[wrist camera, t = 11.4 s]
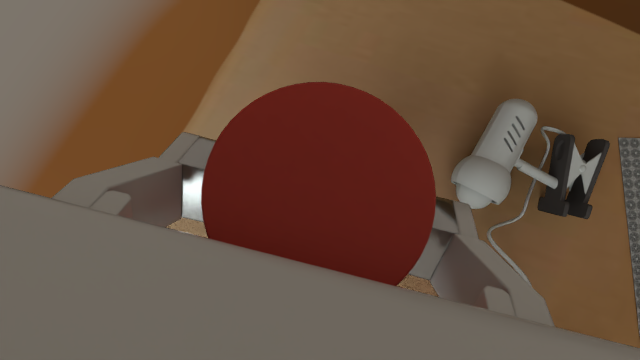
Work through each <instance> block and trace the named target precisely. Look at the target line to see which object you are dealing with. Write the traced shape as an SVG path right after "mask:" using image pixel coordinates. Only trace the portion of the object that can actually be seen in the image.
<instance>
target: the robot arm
mask: <svg viewBox="0 0 640 360" xmlns="http://www.w3.org/2000/svg"><path fill="white" fill-rule="evenodd" d="M215 142H216V140H213V139H209V138H205V137H202V136H201V137H200V136H199V135H194V134H190V133H186V132H183V133H181V134H180V135H179V136H178V137H177V138H176V139H175V140H174V142H173V143H172V144H171V145H170V146H169V147H168V148H167V149H166V150H165V151H164V152H163V153H162V155H161V156H160V157H159V158H156V157H151V158H148V159H144V160H140V161H137V162H133V163H129V164H126V165H122V166H118V167H115V168H111V169H108V170H104V171H101V172H97V173H93V174H90V175H86V176H83V177H79V178H76V179H73V180H72V181H71V182H70V183H68V184H67V186H65V187H64V188H63V189H61V190H60V191H59V192H58V193H57V194H56V195H55V196H53V197H52V198H48V197H44V196H41V195H36V194H32V193H29V192H25V191H21V190H17V189H13V188H9V187H5V186H1V185H0V360H640V348H636V347H632V346H628V345H624V344H620V343H616V342H612V341H609V340H605V339H601V338H597V337H593V336H589V335H585V334H581V333H577V332H573V331H570V330H566V329H562V328H558V327H555V326H554V323H553V321H552V318H551V315H550V313H549V310H548V307H547V305H546V302H545V299H544V298H543V297H542V296H541V295H540V294H539V293H538V292H536V291H535V290H534V289H533V288H532V287H531V286H530V285H529V284H528V283H527V282H526V281H525V280H524V279H523V278H522V277H521V276H520V275H519V274H518V273H517V272H516V271H515V270H514V269H513V268H512V267H511V266H510V265H509V264H507V263H506V262H505V261H504V260H503V259H502V258H501V257H500V256H499V255H498V254H497V253H496V252H495V251H494V250H493V249H492V248H491V247H490V246H489V245H488V244H487V243H486V242H485V241H483V240H479V238H478V234H477V230H476V226H475V222H474V219H473V215H472V211H471V207H470V205H469V204H468V203H463V202H458V201H454V200H449V199H444V198H440V197H436V206H435V216H434V221H433V227H432V230H431V233H430V236H429V239H428V242H427V244H426V246H425V248H424V251H423V253H422V255H421V256H420V258H419V259H418V261H417V263H416V264H415V266H414V267H413V269H412V270H411V271H410V272H409V273H408V274H409V275H412V276H416V277H420V278H423V279H427V280H430V283H431V284H432V286H433V288H434V289H435V291H436V292H437V294H438V295H439V297H436V296H433V295H429V294H425V293H421V292H417V291H413V290H409V289H405V288H401V287H397V286H393V285H389V284H385V283H382V282H378V281H374V280H370V279H366V278H362V277H358V276H354V275H350V274H346V273H342V272H338V271H334V270H331V269H327V268H323V267H319V266H315V265H311V264H307V263H303V262H299V261H295V260H291V259H287V258H284V257H280V256H276V255H272V254H268V253H264V252H260V251H256V250H252V249H248V248H244V247H240V246H237V245H233V244H229V243H225V242H221V241H217V240H213V239H209V238H205V237H201V236H197V235H193V234H189V233H186V232H182V231H178V230H174V229H170V228H166V227H167V226H168V225H170V224H172V223H174V222H176V221H177V220H179V219H181V217H183V218H188V219H192V220H196V221H201V222H204V221H203V214H202V206H201V188H202V181H203V175H204V170H205V167H206V164H207V160H208V157H209V155H210V153H211V150H212V148H213V146H214V144H215Z"/></svg>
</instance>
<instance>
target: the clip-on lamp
mask: <svg viewBox="0 0 640 360" xmlns="http://www.w3.org/2000/svg"><path fill="white" fill-rule="evenodd" d="M536 123H537V112H536V110H535V108H534V107H533V106H532V105H531V104H530V103H529V102H527V101H525V100H522V99H510V100H507V101H505V102H503V103H501V104H500V105H499V106H498V107H497V109H496V111H495V113H494V115H493V116H492V118H491V120H490V122H489V123H488V125H487V127H486V129H485V131H484V132H483V134H482V136H481V138H480V139H479V141H478V143H477V145H476V147H475V148H474V150H473V152H472V154H471V155H470V156H468V157H466V158H464V159H462V160H461V161H460V162H459V163H458V164H457V165H456V167H455V168H454V170H453V173H452V176H451V182H452V183H453V184H455V185H457V186H456V194H457V197H458V199H459V201H460V202H463V203H468V204H469V205H470V207H471V208H472V209H480V208H483V207H486V206H487V205H489V204H490V203H494V204H497V205H499V204H500V203H501V202H502V201H503V200H504V199H505V198H506V196H507V195H508V193H509V191H510V187H511V176H510V172H511V170H512V168H513V166H516V167H517V169H518V170H519V171H521V172H523V173H525V174H527V175H529V176H531V177H533V178H534V179H533V181H532V183H531V186H530V188H529V191H528V194H527V197H526V200H525V203H524V207H523V210H522V212H521V213H520V214H519V216H517V217H515V218H513V219H511V220H508V221H505V222H502V223H499V224H497V225H494V226H492V227H491V228H489V230H488V231H487V238H488V240H489V241H490V243H491V244H492V246H493V247H494V248H495V249H496V250H497V251H498V252H499V253H500V254H501V255H502V257H503V258H504V259H505V260H506V261H507V262H508V263H509V264H510V265H511V266H512V267H513V268H514V269H515V270H516V271H517V272H518V273H519V274H520V275H521V276H522V278H523V279H524V280H525V281H526V282H527V283H528V284H529V285H530V286H531V283H530V281H529V280H528V278H527V276H526V275H525V274H524V273H523V271H522V270H521V269H520V268H519V267H518V266H517V265H516V264H515V263H514V262H513V261H512V260H511V259H510V258H509V257H508V256H507V255H506V254H505V253H504V252H503V251H502V250H501V249H500V248H499V247H498V245H497V244H496V243H495V242H494V240H493V239H492V237H491V232H492V230H493V229H495V228H497V227H500V226H503V225H506V224H510V223H513V222H515V221H517V220H519V219H520V218H521V217H522V216H523V215H524V213H525V211H526V208H527V205H528V202H529V198H530V195H531V193H532V190H533V187H534V185H535V182H536V180H538V181H540V182H542V183H544V184H546V185H547V187H546V193H545V198H544V197H541V198H540V200H539V204H538V210H540V211H544V212H548V213H551V214H555V215H559V216H564V217H566V216H567V214H568V215H572V216H576V217H580V218H584V219H588V218H589V217H590V214H591V211H592V205H589V204H587V203H588V201H589V198H590V196H591V193H592V190H593V188H594V185H595V183H596V180H597V177H598V175H599V172H600V170H601V167H602V164H603V162H604V159H605V157H606V154H607V152H608V149H609V145H610V143H609V141H607V140H604V139H594V140H591V141H590V142H589V143H588V144H587V146H586V149H585V152H584V153H583V154H581V155H579V152H578V150H577V148H576V146H575V137H574V135H570V134H566V133H564V132H563V131H561V130H559V129H556V128H553V127H548V126H544V127H542V128H541V134H542V135H543V137H544V138H545V140H546V142H547V149H546V152H545V154H544V157H543V159H542V161H541V163H540V166H539V168H536V167H534V166H532V165H530V164H529V163H527V162H525V161H523V160H522V159H520V156H521V154H522V152H523V150H524V149H523V148H524V146H525V144H526V142H527V140H528V138H529V136H530V134H531V132H532V131H533V129H534V127H535V125H536ZM543 130H548V131H553V132H556V133H558V134H560V135H558V136H557V137H556V138H555V140H554V145H553V151H552V157H551V163H550V169H549V174H547V173H545V172H544V171H542V170H541V169H542V167H543V164H544V162H545V160H546V158H547V155H548V153H549V149H550V141H549V138H548V137H547V135H546V134H545V132H544V131H543ZM568 187H569V193H568V196H567V199H566V200H565V196H566V190H567V188H568ZM531 287H532V286H531Z"/></svg>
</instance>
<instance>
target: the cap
mask: <svg viewBox="0 0 640 360" xmlns="http://www.w3.org/2000/svg"><path fill="white" fill-rule="evenodd" d="M201 206H202V214H203V221H204V225H205V229H206V232H207V235H208V238H209V239H213V240H217V241H221V242H225V243H229V244H233V245H237V246H240V247H244V248H248V249H252V250H256V251H260V252H264V253H268V254H272V255H276V256H280V257H284V258H287V259H291V260H295V261H299V262H303V263H307V264H311V265H315V266H319V267H323V268H327V269H331V270H334V271H338V272H342V273H346V274H350V275H354V276H358V277H362V278H366V279H370V280H374V281H378V282H382V283H385V284H389V285H393V286H396V285H398V284H399V283H400V282H401V281H402V280H403V279H404V278H405V277H406V275H407V274H408V273H409V272H410V271H411V270H412V269H413V267H414V266H415V264H416V263H417V261H418V259H419V258H420V256H421V255H422V253H423V251H424V248H425V246H426V244H427V242H428V239H429V236H430V233H431V230H432V227H433V221H434V216H435V206H436V192H435V181H434V176H433V172H432V167H431V164H430V162H429V159H428V156H427V153H426V151H425V149H424V147H423V145H422V143H421V141H420V140H419V138H418V137H417V135H416V134H415V132H414V131H413V129H412V128H411V127H410V125H409V124H408V123H407V122H406V121H405V120H404V119H403V118H402V116H400V115H399V114H398V113H397V112H396V111H395V110H394V109H393V108H391V107H390V106H389V105H387V104H386V103H384V102H383V101H381V100H380V99H378V98H376V97H374V96H372V95H371V94H369V93H367V92H364V91H362V90H359V89H356V88H354V87H350V86H346V85H342V84H337V83H327V82H307V83H300V84H294V85H290V86H286V87H283V88H279V89H277V90H274V91H272V92H270V93H267V94H265V95H263V96H262V97H260V98H258V99H256V100H255V101H253V102H252V103H250V104H249V105H248V106H246V107H245V108H244V109H242V110H241V111H240V112H239V113H238V114H237V115H236V116H235V117H234V118H233V119H232V120H231V121H230V122H229V123H228V125H227V126H226V127H225V128H224V130H223V131H222V132H221V134H220V136H219V137H218V139H217V141H216V142H215V144H214V146H213V148H212V150H211V153H210V155H209V157H208V160H207V164H206V167H205V170H204V175H203V181H202V188H201Z"/></svg>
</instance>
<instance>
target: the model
mask: <svg viewBox="0 0 640 360" xmlns="http://www.w3.org/2000/svg"><path fill="white" fill-rule="evenodd" d="M618 139H619V148H620V157H621V167H622V176H623V185H624V195H625V204H626V213H627V222H628V232H629V241H630V250H631V260H632V269H633V278H634V288H635V297H636V306H637V316H638V325H639V334H640V138H618Z"/></svg>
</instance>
